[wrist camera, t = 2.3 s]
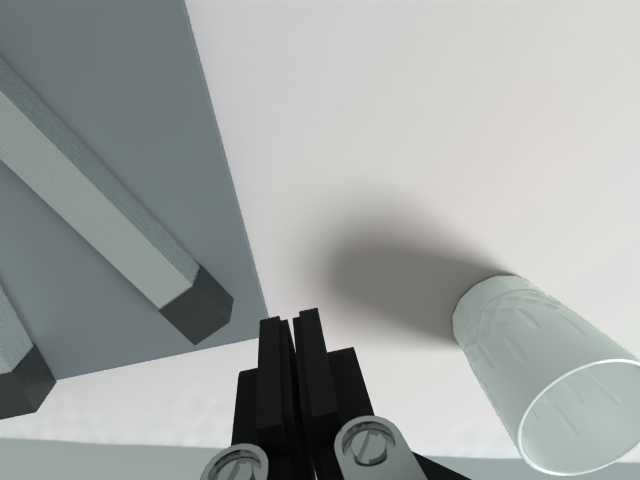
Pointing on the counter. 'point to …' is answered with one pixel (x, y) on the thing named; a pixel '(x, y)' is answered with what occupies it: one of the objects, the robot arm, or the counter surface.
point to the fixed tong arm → (20, 367)
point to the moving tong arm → (106, 212)
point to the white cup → (550, 376)
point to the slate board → (129, 169)
